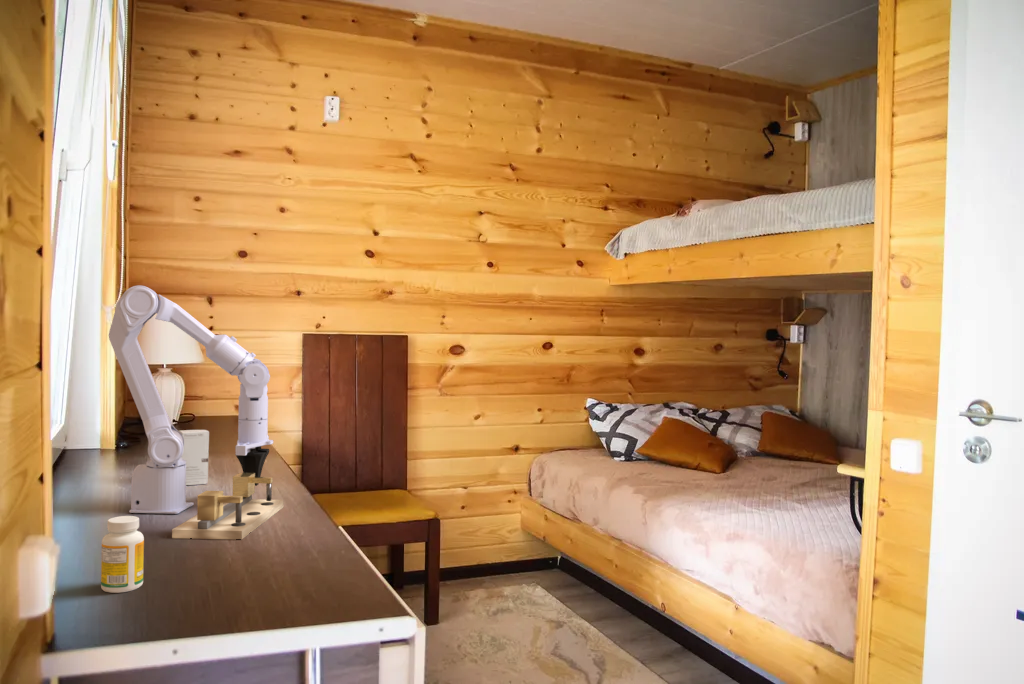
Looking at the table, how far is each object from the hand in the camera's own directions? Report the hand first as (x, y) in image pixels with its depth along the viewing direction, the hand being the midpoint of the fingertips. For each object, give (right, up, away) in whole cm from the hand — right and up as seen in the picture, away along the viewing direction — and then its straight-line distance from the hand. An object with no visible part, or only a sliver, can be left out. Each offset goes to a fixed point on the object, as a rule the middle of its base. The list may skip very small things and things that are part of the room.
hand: (252, 485), depth 163 cm
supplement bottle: (-2, -5, -51) cm, 51 cm away
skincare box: (-20, -3, +19) cm, 28 cm away
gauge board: (+1, -4, -14) cm, 15 cm away
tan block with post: (+2, -2, -5) cm, 6 cm away
